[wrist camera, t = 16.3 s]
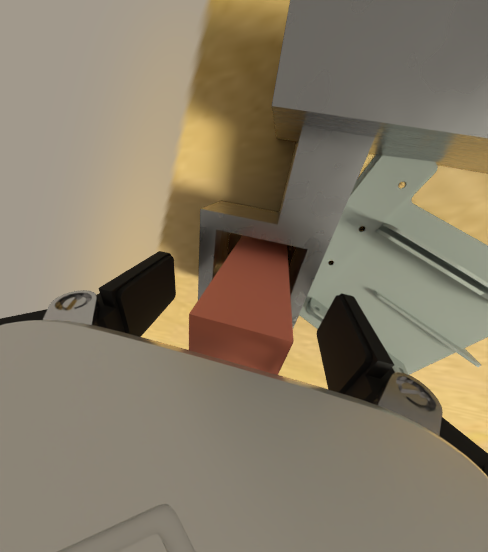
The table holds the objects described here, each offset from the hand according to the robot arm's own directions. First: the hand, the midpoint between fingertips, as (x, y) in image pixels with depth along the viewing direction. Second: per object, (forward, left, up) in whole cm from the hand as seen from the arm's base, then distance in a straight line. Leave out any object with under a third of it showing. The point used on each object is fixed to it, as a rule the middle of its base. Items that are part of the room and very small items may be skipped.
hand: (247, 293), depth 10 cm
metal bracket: (0, -9, -6) cm, 12 cm away
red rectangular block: (0, 0, -6) cm, 6 cm away
